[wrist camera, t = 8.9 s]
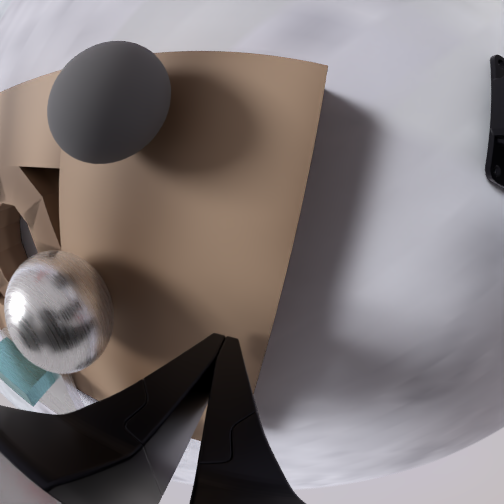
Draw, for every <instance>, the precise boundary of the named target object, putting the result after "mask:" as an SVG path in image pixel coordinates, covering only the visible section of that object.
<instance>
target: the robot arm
mask: <svg viewBox="0 0 504 504" xmlns="http://www.w3.org/2000/svg"><path fill="white" fill-rule="evenodd" d="M490 64H491V121H490V133H489V143H488V151H487V158H486V165H485V172H486V176H487V178H488V179H489V180H490V181H492V182H493V183H495V184H497V185H499V186H500V187H502V188H504V58H503V57H501V56H500V55H494V56H492V57H491V58H490ZM494 167H495V169H496V173H495V174H494ZM207 404H208V405H207ZM206 406H207V411H206V416H205V422H204V428H203V434H202V440H201V446H200V452H199V458H198V464H197V470H196V476H195V481H194V486H193V490H192V495H191V500H190V504H306V503H304V502H303V501H302V500H301V499H300V498H299V497H298V496H297V495H296V494H295V492H294V491H293V490H292V488H291V487H290V485H289V483H288V482H287V480H286V478H285V476H284V474H283V472H282V470H281V468H280V466H279V464H278V462H277V460H276V458H275V456H274V454H273V452H272V450H271V448H270V446H269V443H268V441H267V439H266V436H265V434H264V431H263V428H262V424H261V421H260V418H259V414H258V413H257V407H256V404H255V400H254V396H253V393H252V389H251V385H250V382H249V378H248V374H247V370H246V366H245V362H244V358H243V354H242V351H241V347H240V343H239V340H238V338H234V337H230V336H227V337H225V335H222V334H218V333H213V334H211V335H210V336H208V337H207V338H205V339H204V340H202V341H201V342H199V343H198V344H196V345H194V346H193V347H191V348H190V349H188V350H187V351H185V352H184V353H182V354H181V355H179V356H178V357H176V358H175V359H173V360H171V361H170V362H168V363H167V364H165V365H164V366H162V367H160V368H159V369H157V370H156V371H154V372H152V373H151V374H149V375H148V376H146V377H144V378H143V379H141V380H139V381H138V382H136V383H134V384H133V385H131V386H129V387H127V388H126V389H124V390H122V391H120V392H118V393H116V394H114V395H112V396H110V397H107V398H105V399H103V400H100V401H98V402H96V403H93V404H91V405H88V406H86V407H83V408H81V409H78V410H76V411H73V412H70V413H66V414H59V415H52V414H44V413H37V412H31V411H25V410H20V409H15V408H10V407H5V406H1V405H0V504H158V503H159V502H160V500H161V498H162V495H163V494H164V492H165V490H166V488H167V486H168V484H169V482H170V480H171V478H172V476H173V474H174V472H175V470H176V468H177V466H178V464H179V462H180V460H181V458H182V456H183V454H184V452H185V450H186V448H187V445H188V443H189V441H190V439H191V437H192V435H193V433H194V431H195V429H196V427H197V425H198V423H199V421H200V418H201V416H202V414H203V412H204V410H205V408H206Z"/></svg>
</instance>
